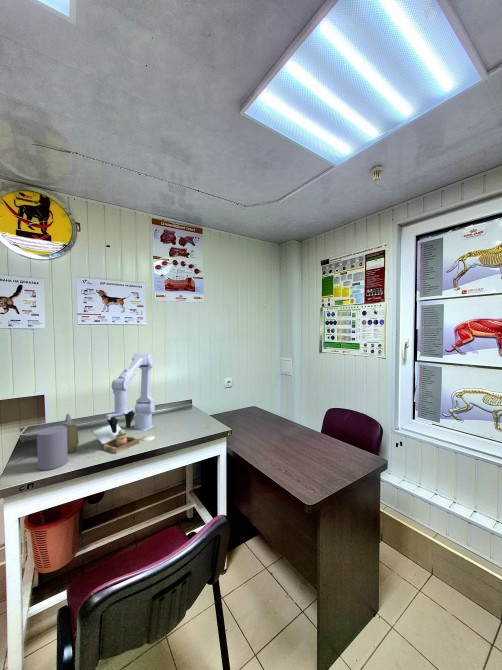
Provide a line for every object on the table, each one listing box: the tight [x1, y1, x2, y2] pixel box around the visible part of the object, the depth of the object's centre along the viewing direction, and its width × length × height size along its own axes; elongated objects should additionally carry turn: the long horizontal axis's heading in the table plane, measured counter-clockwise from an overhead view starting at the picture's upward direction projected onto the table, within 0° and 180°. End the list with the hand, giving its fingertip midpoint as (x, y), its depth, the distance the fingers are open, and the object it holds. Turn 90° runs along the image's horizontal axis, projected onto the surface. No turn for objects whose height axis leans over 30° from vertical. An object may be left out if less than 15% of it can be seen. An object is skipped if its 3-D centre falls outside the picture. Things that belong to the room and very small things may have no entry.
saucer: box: [140, 434, 156, 442], centre depth 140 cm, size 7×7×1 cm
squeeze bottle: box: [61, 413, 80, 454], centre depth 126 cm, size 8×8×18 cm
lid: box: [91, 424, 122, 446], centre depth 135 cm, size 10×13×1 cm
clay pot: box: [115, 428, 129, 448], centre depth 131 cm, size 5×5×8 cm
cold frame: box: [102, 428, 141, 454], centre depth 132 cm, size 14×14×5 cm
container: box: [36, 425, 69, 471], centre depth 114 cm, size 10×10×15 cm
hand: (121, 429), depth 131 cm, fingers open, 7 cm apart
